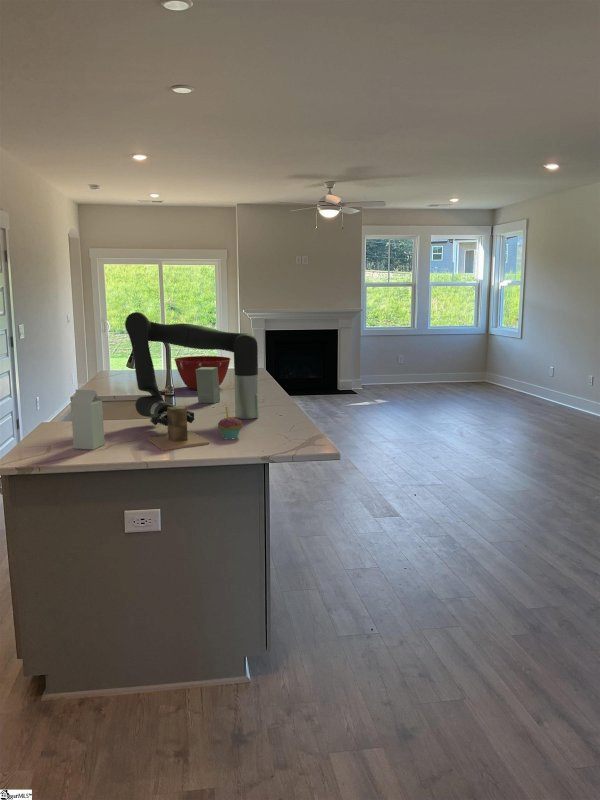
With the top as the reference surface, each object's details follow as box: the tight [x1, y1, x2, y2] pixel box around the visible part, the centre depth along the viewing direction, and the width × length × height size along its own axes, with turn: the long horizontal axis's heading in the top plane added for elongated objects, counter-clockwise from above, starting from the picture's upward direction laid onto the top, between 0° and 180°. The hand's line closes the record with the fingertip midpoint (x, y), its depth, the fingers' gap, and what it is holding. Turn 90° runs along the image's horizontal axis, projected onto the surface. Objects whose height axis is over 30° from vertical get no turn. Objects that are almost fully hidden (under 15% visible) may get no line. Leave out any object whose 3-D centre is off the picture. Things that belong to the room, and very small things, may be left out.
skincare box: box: [196, 367, 221, 404], centre depth 278 cm, size 8×7×16 cm
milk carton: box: [70, 389, 105, 450], centre depth 201 cm, size 7×7×19 cm
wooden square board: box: [147, 431, 210, 451], centre depth 209 cm, size 16×16×1 cm
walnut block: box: [167, 405, 188, 442], centre depth 208 cm, size 5×5×11 cm
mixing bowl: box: [173, 355, 232, 391], centre depth 317 cm, size 28×28×16 cm
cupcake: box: [217, 405, 243, 440], centre depth 214 cm, size 9×8×12 cm
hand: (179, 421), depth 206 cm, fingers open, 8 cm apart
